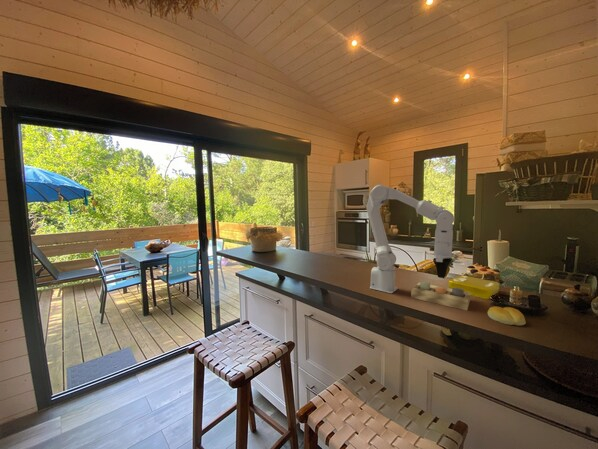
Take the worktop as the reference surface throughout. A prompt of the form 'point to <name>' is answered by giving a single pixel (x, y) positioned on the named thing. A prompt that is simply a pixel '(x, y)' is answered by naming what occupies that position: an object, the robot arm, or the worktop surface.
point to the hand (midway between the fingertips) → (441, 277)
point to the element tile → (475, 286)
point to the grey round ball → (458, 292)
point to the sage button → (425, 286)
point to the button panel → (441, 297)
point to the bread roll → (506, 315)
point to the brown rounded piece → (440, 290)
